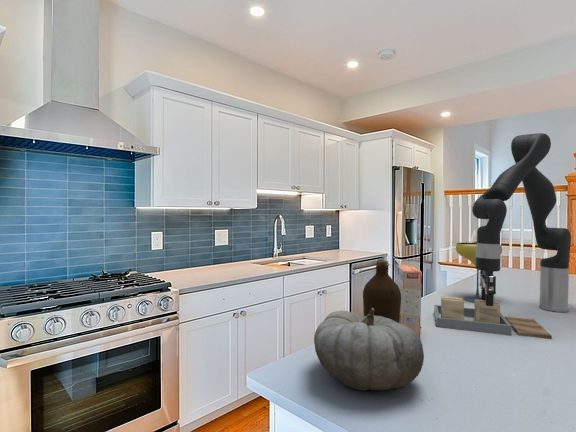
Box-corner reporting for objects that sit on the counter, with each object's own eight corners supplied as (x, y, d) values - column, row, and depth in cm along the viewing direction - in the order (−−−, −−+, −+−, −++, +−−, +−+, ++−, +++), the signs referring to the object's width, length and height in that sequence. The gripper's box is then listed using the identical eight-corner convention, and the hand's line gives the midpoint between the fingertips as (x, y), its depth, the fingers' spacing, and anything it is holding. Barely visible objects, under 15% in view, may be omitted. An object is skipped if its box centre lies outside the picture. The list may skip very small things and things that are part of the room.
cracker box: (421, 339, 106) (422, 271, 106) (401, 337, 107) (402, 270, 107) (414, 324, 120) (415, 264, 120) (396, 323, 121) (397, 263, 121)
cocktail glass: (449, 300, 153) (450, 244, 153) (460, 293, 167) (461, 241, 167) (496, 308, 142) (497, 247, 141) (504, 300, 155) (505, 244, 155)
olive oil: (406, 347, 100) (407, 260, 99) (390, 358, 92) (392, 264, 91) (372, 338, 107) (373, 257, 106) (355, 348, 99) (356, 260, 98)
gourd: (345, 408, 64) (346, 311, 67) (293, 372, 86) (296, 301, 90) (448, 397, 73) (445, 312, 76) (376, 368, 95) (376, 303, 99)
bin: (434, 312, 135) (434, 304, 135) (499, 319, 127) (499, 311, 127) (436, 326, 118) (436, 317, 118) (511, 335, 110) (511, 326, 110)
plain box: (440, 318, 128) (441, 296, 128) (461, 320, 126) (462, 298, 126) (441, 322, 123) (442, 299, 123) (463, 324, 121) (463, 301, 121)
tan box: (474, 321, 124) (474, 299, 124) (496, 323, 122) (496, 301, 122) (476, 326, 119) (476, 302, 119) (499, 328, 117) (500, 305, 117)
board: (504, 318, 127) (504, 316, 127) (533, 321, 124) (533, 319, 124) (517, 335, 111) (518, 332, 111) (551, 339, 107) (551, 335, 107)
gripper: (505, 259, 112) (504, 309, 112) (495, 254, 126) (494, 299, 126) (479, 258, 115) (478, 306, 115) (472, 253, 128) (471, 297, 128)
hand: (486, 302), depth 120 cm, fingers open, 8 cm apart
